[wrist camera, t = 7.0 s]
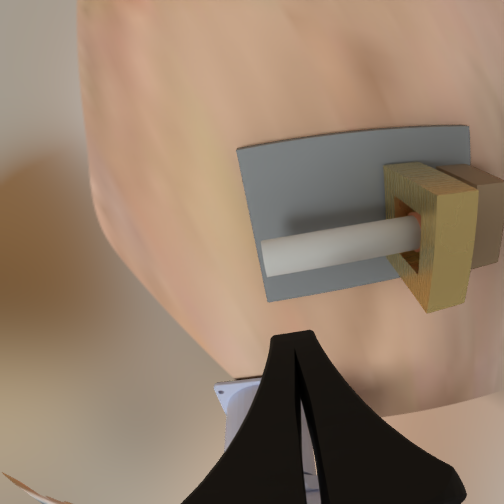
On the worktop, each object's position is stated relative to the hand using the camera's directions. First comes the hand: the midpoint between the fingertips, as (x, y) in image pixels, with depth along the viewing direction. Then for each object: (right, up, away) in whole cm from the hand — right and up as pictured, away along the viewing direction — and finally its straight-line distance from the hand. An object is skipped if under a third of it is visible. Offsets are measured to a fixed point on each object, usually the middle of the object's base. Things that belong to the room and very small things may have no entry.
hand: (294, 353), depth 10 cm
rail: (+6, +6, +9) cm, 12 cm away
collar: (+8, +6, +7) cm, 12 cm away
